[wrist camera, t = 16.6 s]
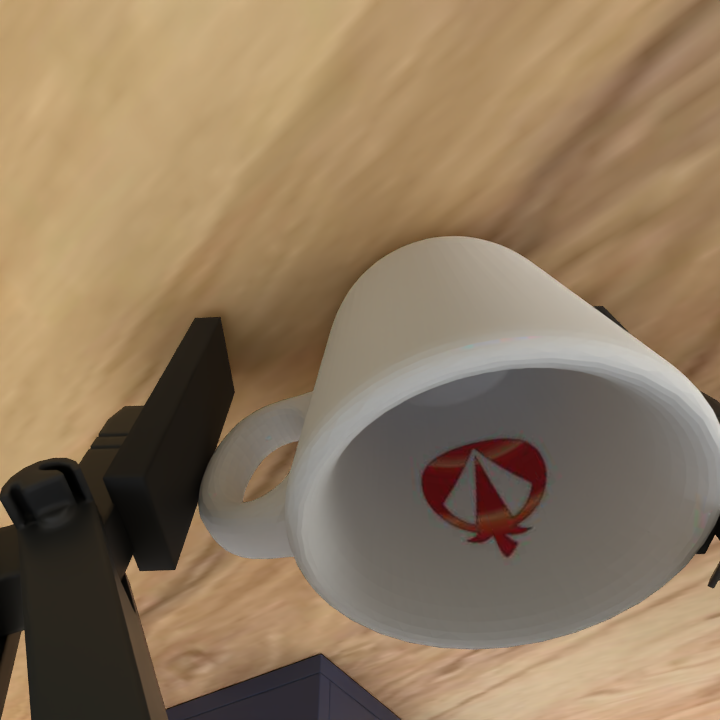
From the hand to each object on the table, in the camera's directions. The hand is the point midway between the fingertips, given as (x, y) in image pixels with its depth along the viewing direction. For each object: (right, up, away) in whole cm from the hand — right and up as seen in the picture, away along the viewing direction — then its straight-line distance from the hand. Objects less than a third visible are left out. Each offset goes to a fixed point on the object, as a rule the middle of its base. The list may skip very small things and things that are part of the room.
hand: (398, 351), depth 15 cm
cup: (0, 0, +1) cm, 1 cm away
